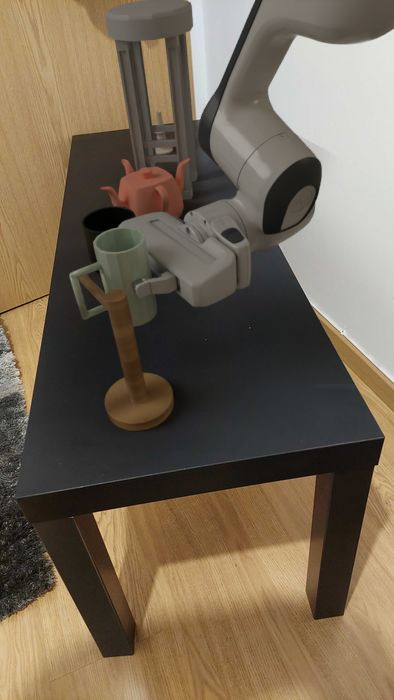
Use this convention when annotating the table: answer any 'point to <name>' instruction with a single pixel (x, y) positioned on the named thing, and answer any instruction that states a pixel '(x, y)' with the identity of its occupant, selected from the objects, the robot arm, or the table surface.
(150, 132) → the stool
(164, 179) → the teapot
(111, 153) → the table surface
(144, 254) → the cup
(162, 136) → the candle
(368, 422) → the table surface
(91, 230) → the mug
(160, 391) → the mug stand
